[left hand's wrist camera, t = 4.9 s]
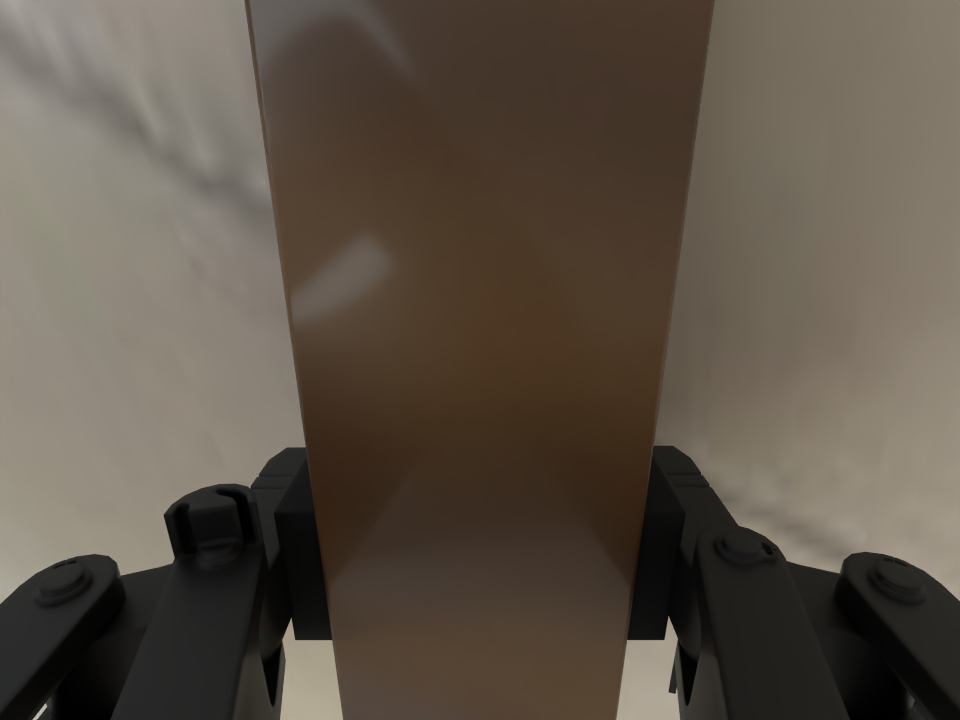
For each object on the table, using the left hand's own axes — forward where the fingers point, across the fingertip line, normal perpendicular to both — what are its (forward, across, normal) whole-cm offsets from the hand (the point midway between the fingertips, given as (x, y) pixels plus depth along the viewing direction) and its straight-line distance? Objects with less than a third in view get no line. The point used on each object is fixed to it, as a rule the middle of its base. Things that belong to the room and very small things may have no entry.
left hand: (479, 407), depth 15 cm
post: (0, 0, -32) cm, 32 cm away
